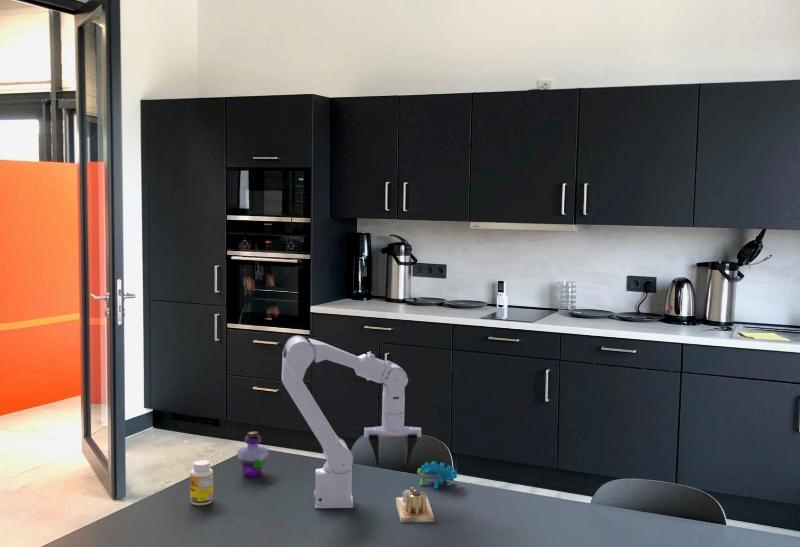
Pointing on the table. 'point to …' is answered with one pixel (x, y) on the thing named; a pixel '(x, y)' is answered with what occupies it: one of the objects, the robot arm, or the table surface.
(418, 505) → the planet gear
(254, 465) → the potion bottle
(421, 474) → the toy dinosaur
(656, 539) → the table surface
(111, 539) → the table surface
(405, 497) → the sun gear
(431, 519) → the plate
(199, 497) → the supplement bottle
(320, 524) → the table surface
